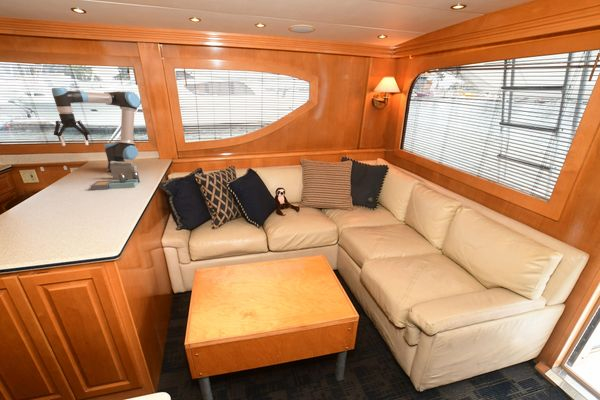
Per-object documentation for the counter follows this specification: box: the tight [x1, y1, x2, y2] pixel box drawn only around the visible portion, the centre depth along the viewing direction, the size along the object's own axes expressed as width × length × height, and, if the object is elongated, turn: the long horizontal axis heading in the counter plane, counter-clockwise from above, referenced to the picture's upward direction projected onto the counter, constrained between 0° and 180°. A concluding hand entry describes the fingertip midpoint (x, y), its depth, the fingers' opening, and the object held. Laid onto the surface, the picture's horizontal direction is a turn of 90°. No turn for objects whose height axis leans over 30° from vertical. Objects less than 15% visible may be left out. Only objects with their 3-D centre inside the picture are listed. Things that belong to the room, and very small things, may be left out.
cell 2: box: [131, 170, 141, 184], centre depth 203 cm, size 4×4×9 cm
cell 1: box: [118, 173, 127, 183], centre depth 194 cm, size 4×4×9 cm
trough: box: [108, 179, 139, 190], centre depth 195 cm, size 8×16×4 cm, turn 104°
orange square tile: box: [95, 180, 109, 185], centre depth 192 cm, size 7×7×1 cm
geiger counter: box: [105, 161, 139, 180], centre depth 209 cm, size 14×6×25 cm
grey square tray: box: [90, 179, 114, 191], centre depth 192 cm, size 10×10×4 cm
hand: (75, 145), depth 187 cm, fingers open, 13 cm apart
